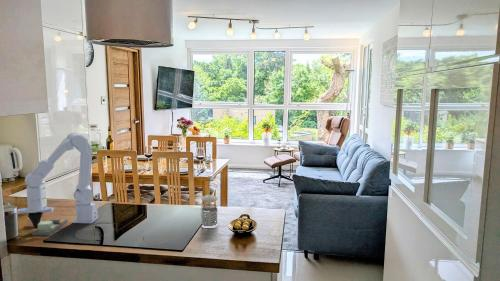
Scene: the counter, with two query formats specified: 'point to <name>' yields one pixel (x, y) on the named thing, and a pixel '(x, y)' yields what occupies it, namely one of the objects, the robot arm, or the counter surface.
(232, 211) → the counter surface
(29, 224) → the terracotta plug
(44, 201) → the syrup box
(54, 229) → the cable comb
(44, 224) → the sage plug
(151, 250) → the counter surface
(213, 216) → the french press
